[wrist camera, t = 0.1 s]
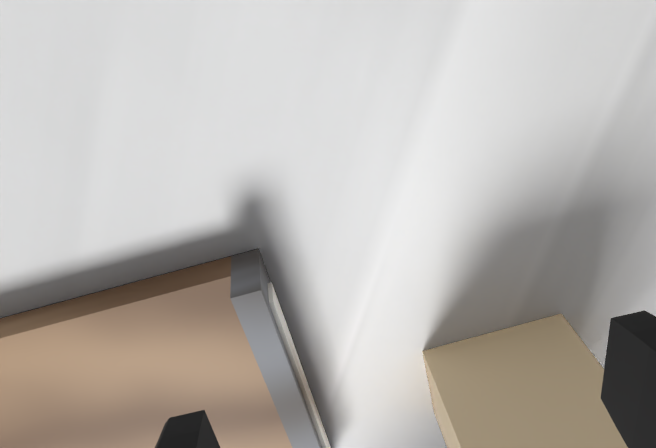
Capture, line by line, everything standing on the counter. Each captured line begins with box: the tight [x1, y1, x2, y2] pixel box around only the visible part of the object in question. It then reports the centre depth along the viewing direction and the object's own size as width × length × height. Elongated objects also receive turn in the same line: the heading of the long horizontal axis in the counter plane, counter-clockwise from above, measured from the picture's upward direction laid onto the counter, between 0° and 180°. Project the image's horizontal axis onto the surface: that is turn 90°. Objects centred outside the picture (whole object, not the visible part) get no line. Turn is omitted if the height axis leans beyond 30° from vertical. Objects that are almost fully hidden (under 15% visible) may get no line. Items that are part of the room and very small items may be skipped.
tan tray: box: [0, 249, 331, 448], centre depth 22 cm, size 12×14×2 cm
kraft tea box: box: [423, 314, 628, 448], centre depth 22 cm, size 4×6×7 cm, turn 103°
